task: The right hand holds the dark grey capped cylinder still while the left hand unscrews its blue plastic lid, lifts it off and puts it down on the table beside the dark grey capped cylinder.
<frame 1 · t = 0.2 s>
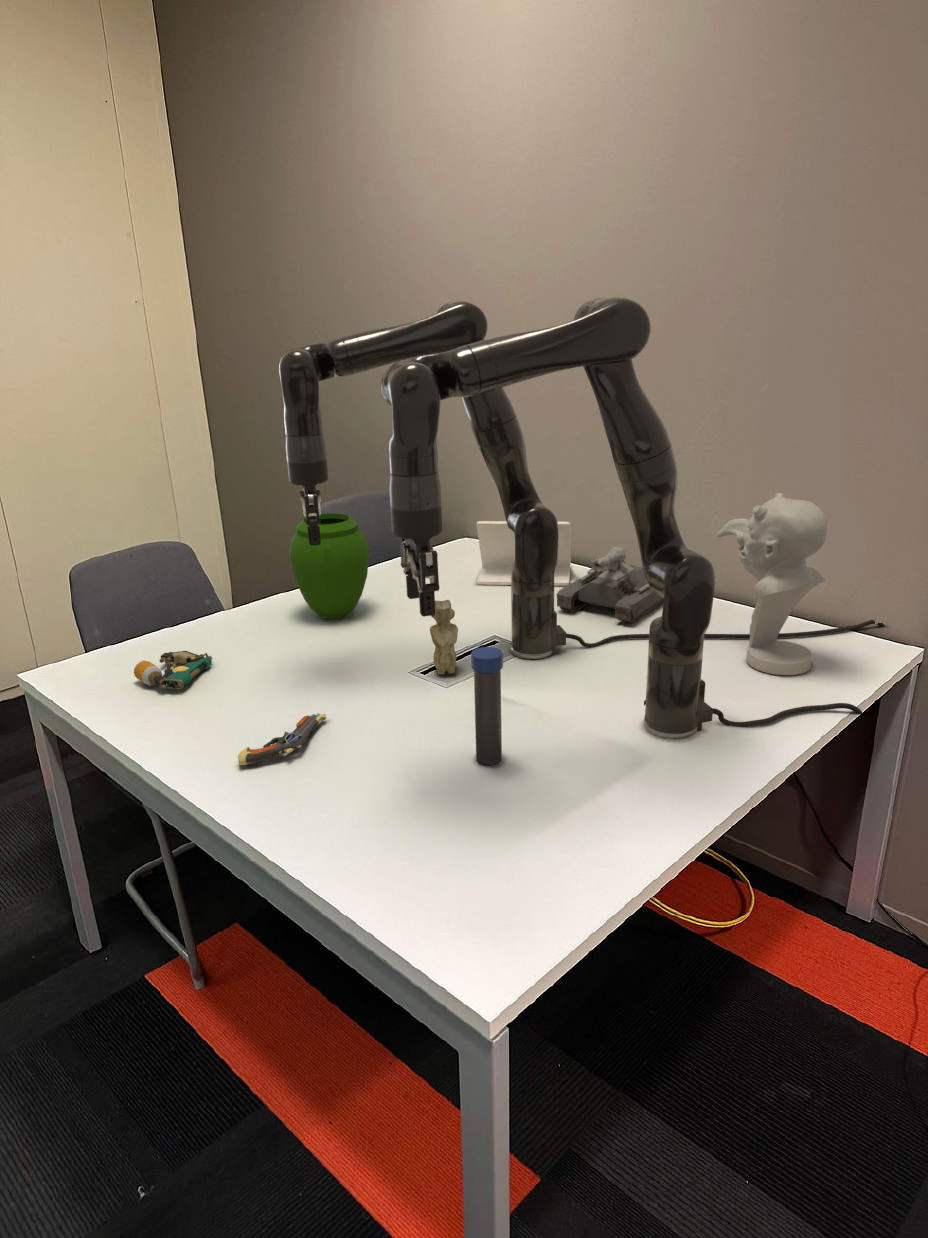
left hand: (314, 539, 170), 29 cm above the table, tool pointing down, fingers open, 8 cm apart
right hand: (420, 606, 131), 29 cm above the table, tool pointing down, fingers open, 8 cm apart
sculpture: (445, 671, 180), on the table
spray gun: (177, 676, 181), on the table
bust sculpture: (760, 660, 180), on the table
tablet stand: (525, 575, 239), on the table
vase: (334, 614, 214), on the table
lid: (486, 654, 138), point 19 cm above the table, screwed on, not yet turned
toy gun: (284, 743, 152), on the table
toy: (615, 605, 214), on the table
dark grey capped cylinder: (489, 760, 145), on the table
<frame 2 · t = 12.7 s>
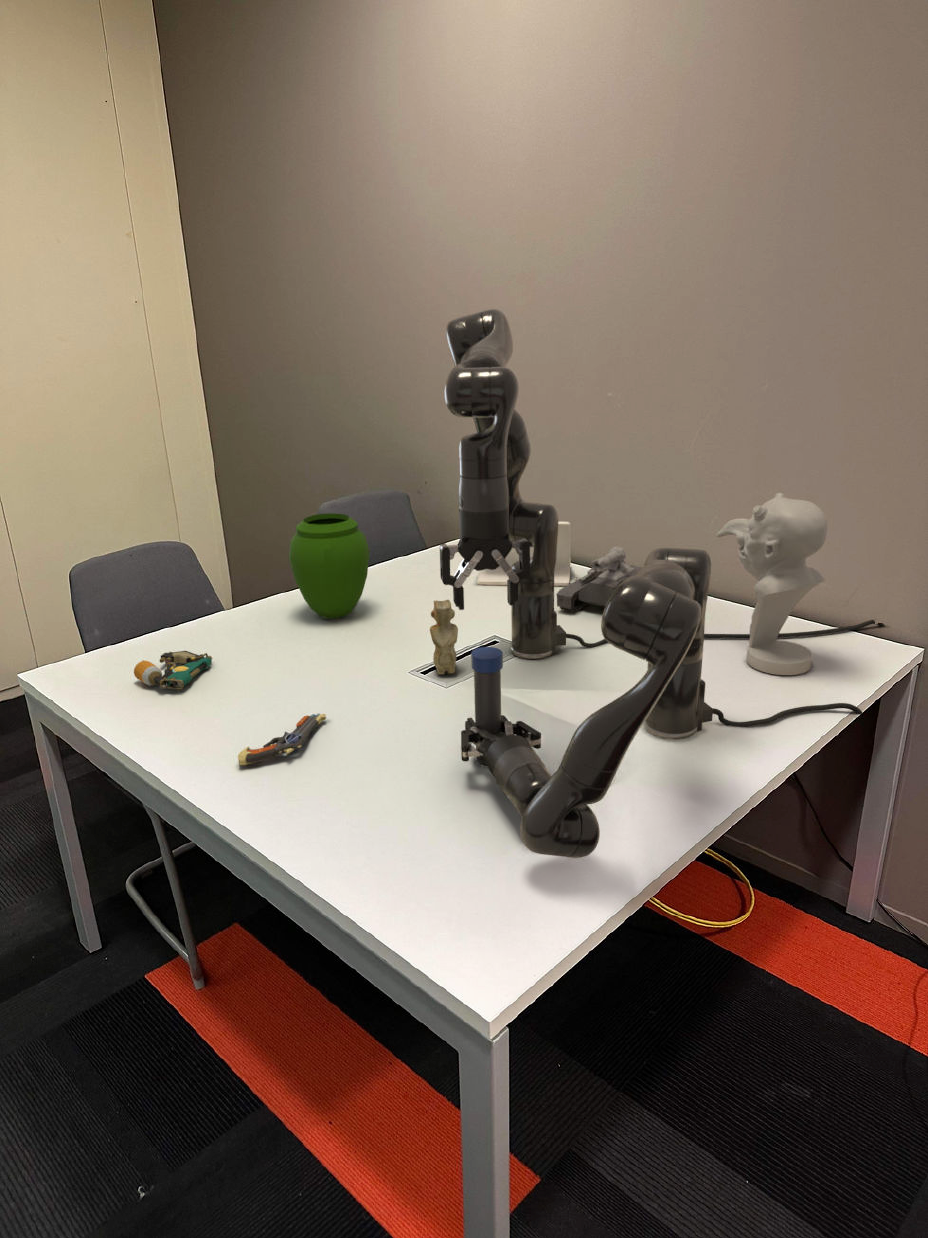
left hand: (485, 606, 135), 28 cm above the table, tool pointing down, fingers open, 7 cm apart
right hand: (483, 720, 145), 6 cm above the table, tool horizontal, fingers closed on dark grey capped cylinder, 4 cm apart
dark grey capped cylinder: (489, 760, 145), on the table, touching right hand
everything else where it was.
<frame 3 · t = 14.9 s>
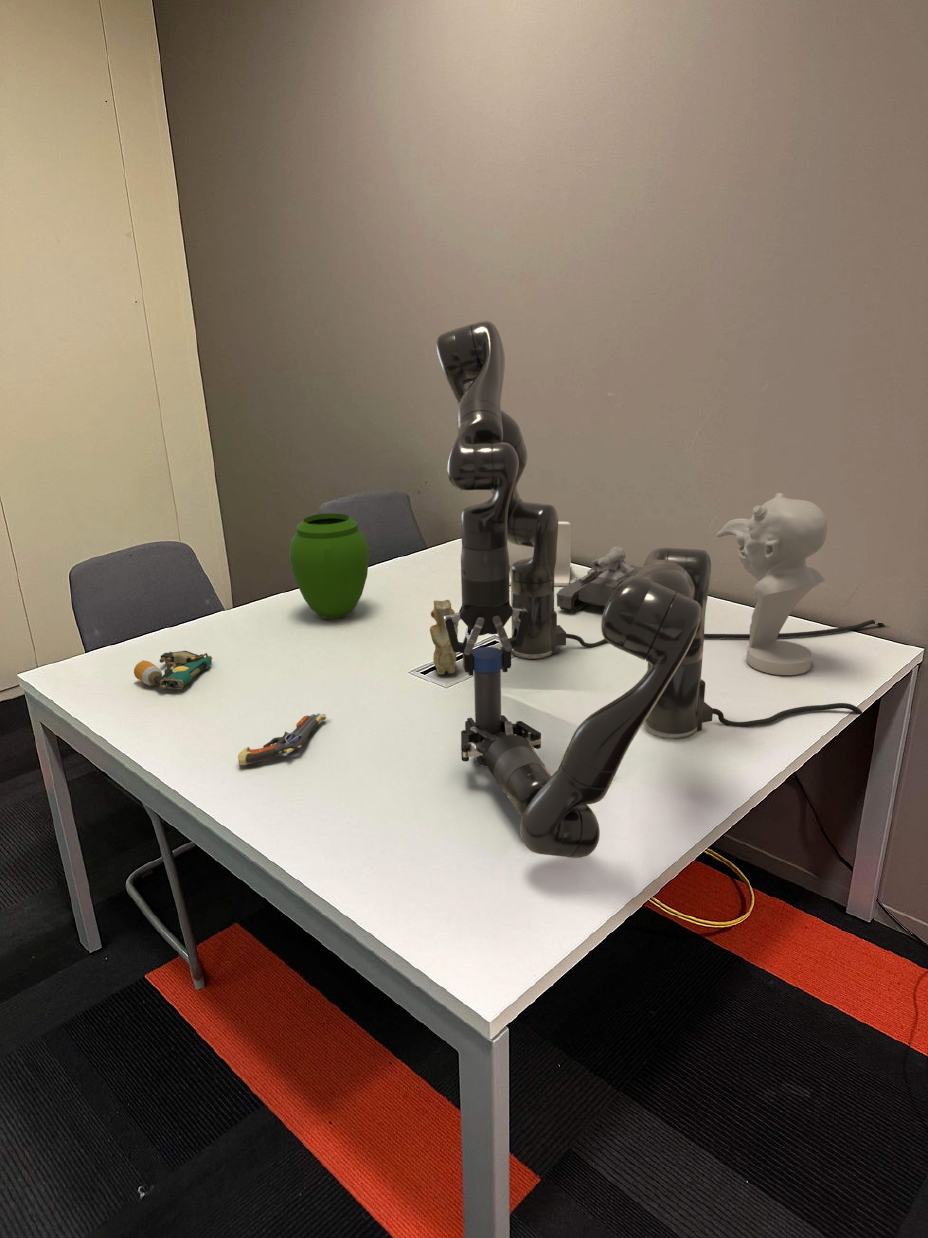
left hand: (487, 671, 139), 16 cm above the table, tool pointing down, fingers closed on lid, 5 cm apart
right hand: (483, 720, 145), 6 cm above the table, tool horizontal, fingers closed on dark grey capped cylinder, 4 cm apart
lid: (486, 654, 138), point 19 cm above the table, screwed on, not yet turned, touching left hand
dark grey capped cylinder: (489, 760, 145), on the table, touching right hand
everything else where it was.
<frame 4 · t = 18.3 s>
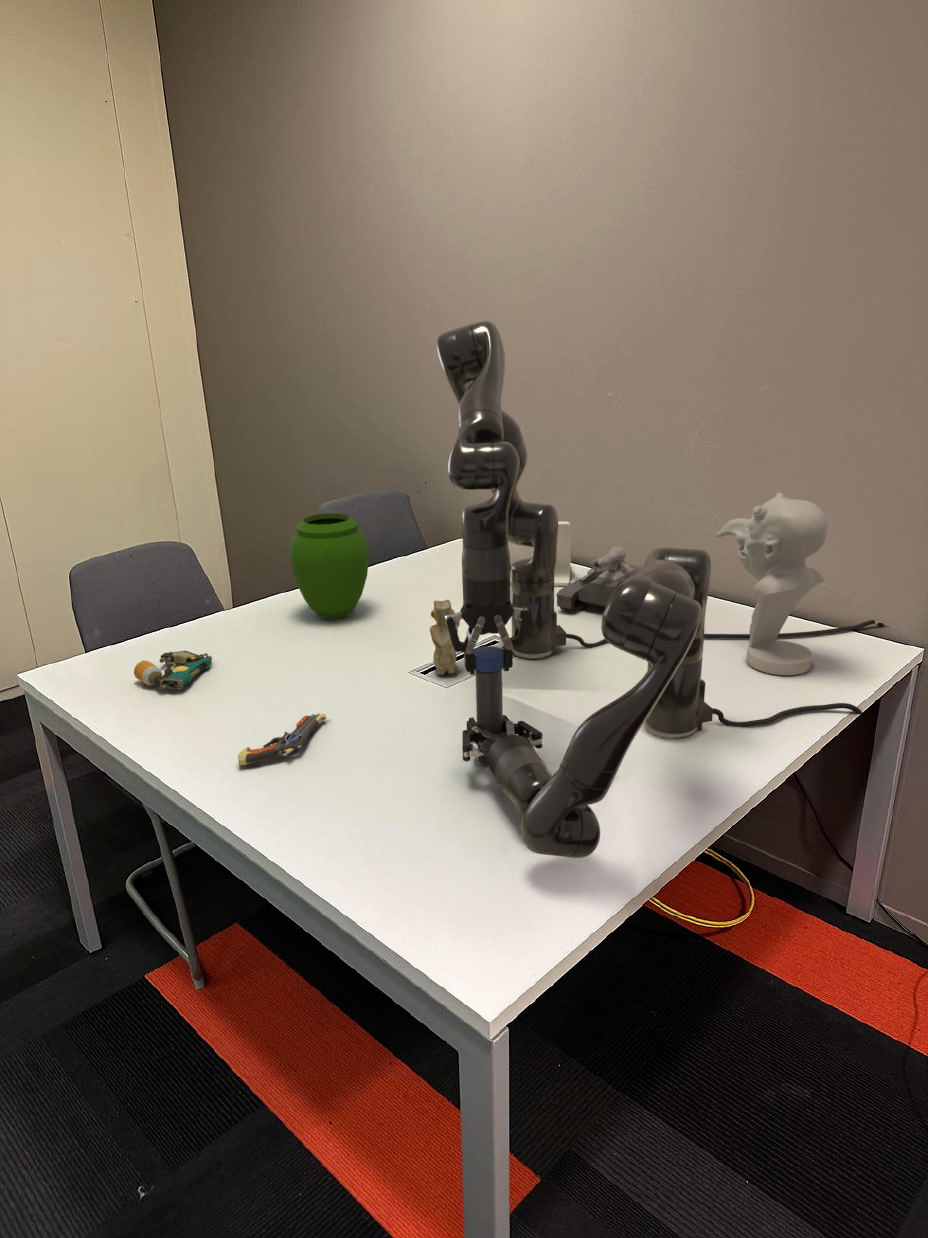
left hand: (488, 670, 139), 17 cm above the table, tool pointing down, fingers closed on lid, 5 cm apart
right hand: (484, 720, 145), 6 cm above the table, tool horizontal, fingers closed on dark grey capped cylinder, 4 cm apart
lid: (488, 654, 138), point 19 cm above the table, turned 75° so far, risen 0.1 cm, still on its thread, touching left hand
dark grey capped cylinder: (490, 759, 145), on the table, touching right hand
everything else where it was.
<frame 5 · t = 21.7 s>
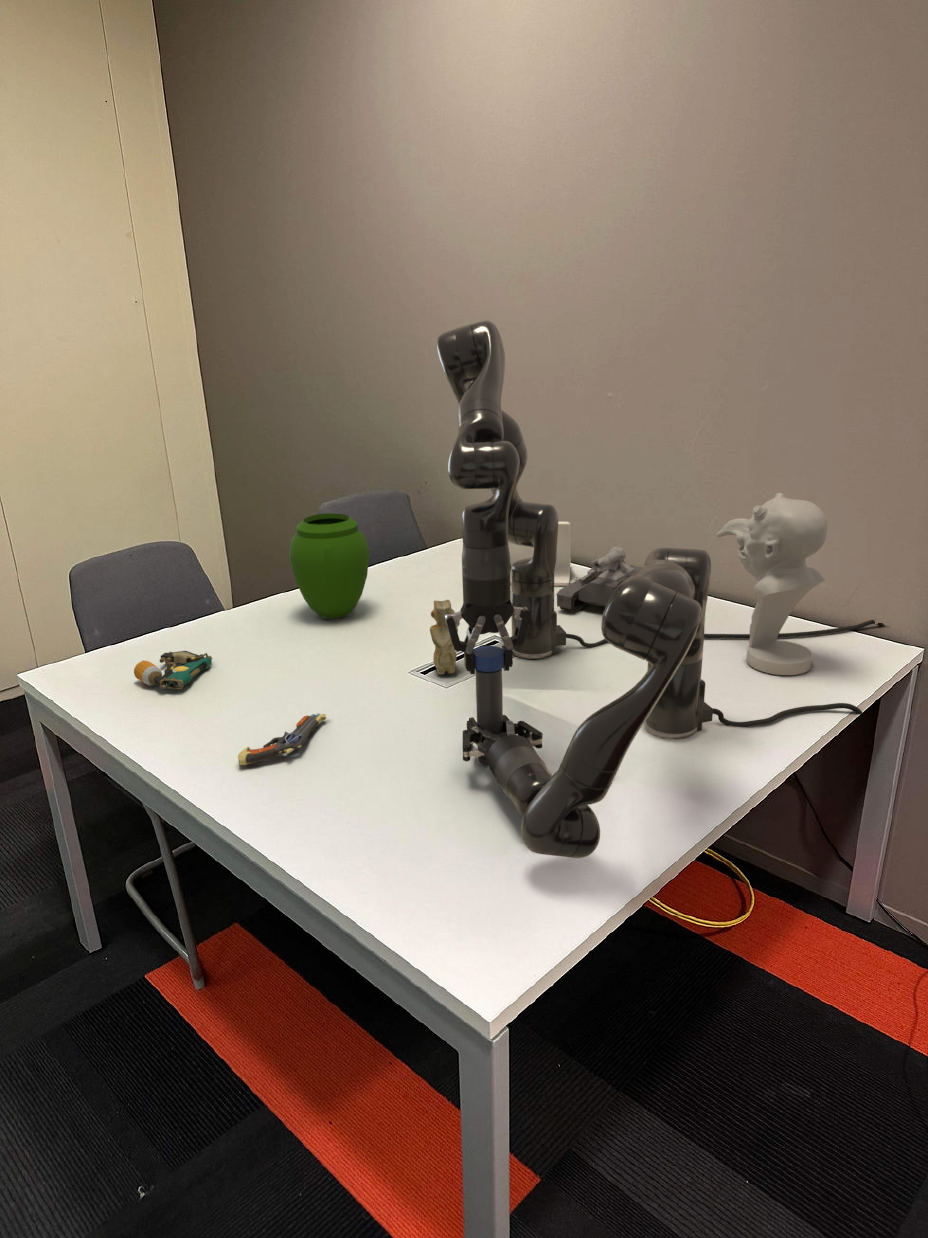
left hand: (488, 670, 139), 17 cm above the table, tool pointing down, fingers closed on lid, 5 cm apart
right hand: (484, 720, 145), 6 cm above the table, tool horizontal, fingers closed on dark grey capped cylinder, 4 cm apart
lid: (488, 653, 138), point 20 cm above the table, turned 150° so far, risen 0.2 cm, still on its thread, touching left hand
dark grey capped cylinder: (490, 759, 145), on the table, touching right hand
everything else where it was.
when the left hand's fingers open (0 cm above the table, at t = 35.0 s): lid drops 1 cm, point 2 cm above the table.
when the right hand's fingers open (6 cm above the table, at t = 36.0 s): dark grey capped cylinder stays where it is, on the table.
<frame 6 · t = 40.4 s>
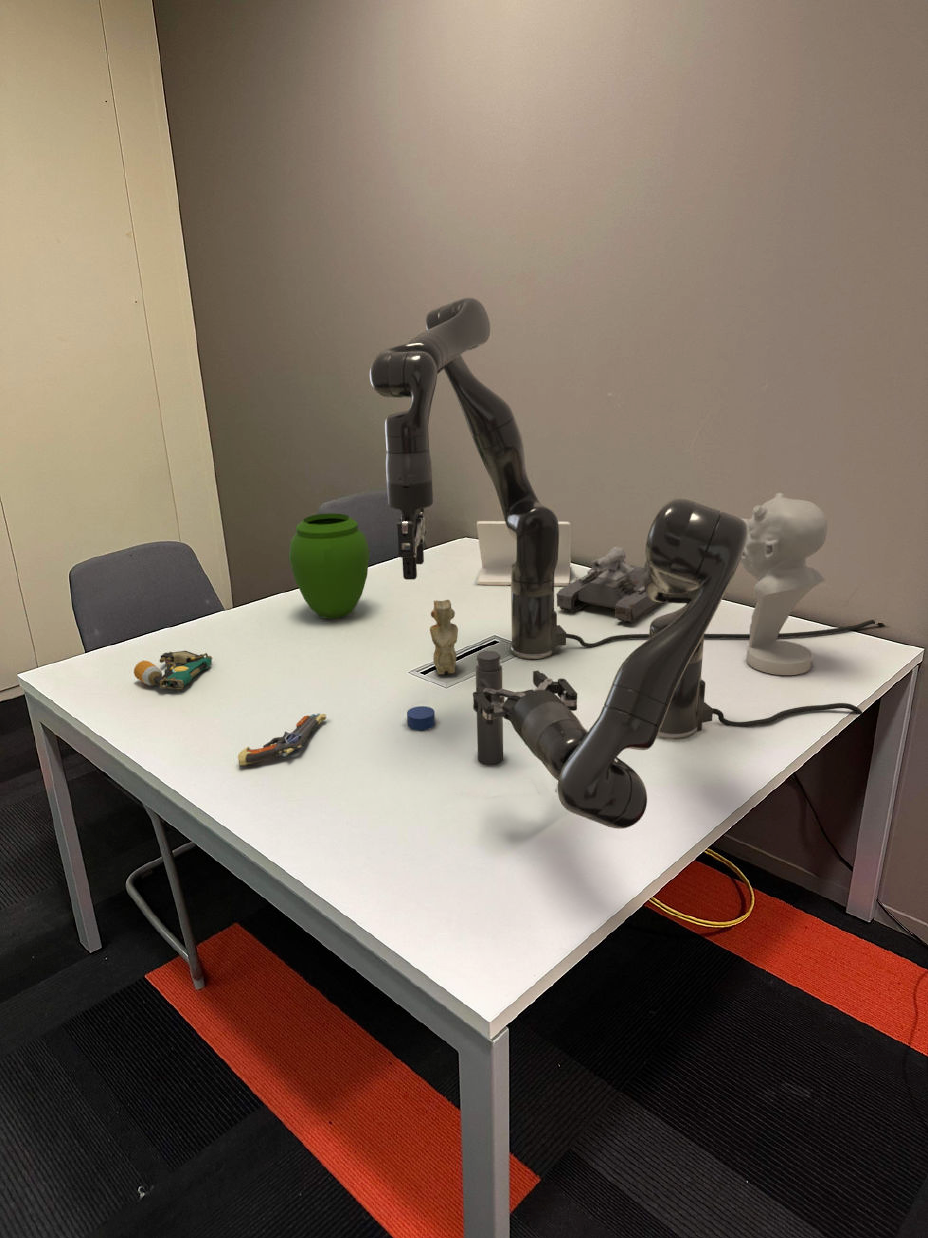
left hand: (414, 571, 147), 30 cm above the table, tool pointing down, fingers open, 8 cm apart
right hand: (508, 680, 128), 19 cm above the table, tool horizontal, fingers open, 8 cm apart
lid: (420, 714, 157), point 2 cm above the table, off its thread
dark grey capped cylinder: (490, 759, 145), on the table
everything else where it was.
at the end: lid came off its thread; lid point 2.1 cm above the table; the left hand is holding nothing; the right hand is holding nothing; dark grey capped cylinder tilted 0°; dark grey capped cylinder moved 0.3 cm from its start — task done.
